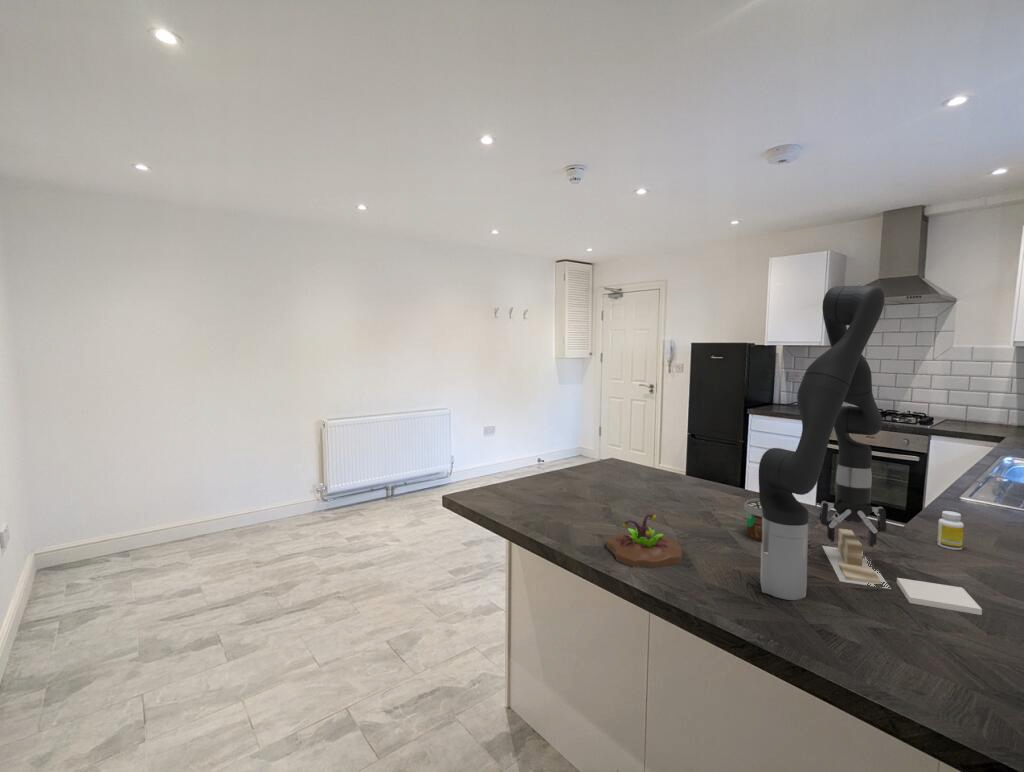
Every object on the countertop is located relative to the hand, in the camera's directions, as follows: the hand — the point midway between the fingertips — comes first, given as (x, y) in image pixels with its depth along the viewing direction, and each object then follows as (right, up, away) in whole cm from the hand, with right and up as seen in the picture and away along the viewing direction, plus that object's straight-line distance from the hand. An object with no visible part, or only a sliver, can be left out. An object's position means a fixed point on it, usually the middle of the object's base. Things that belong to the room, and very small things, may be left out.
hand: (850, 543), depth 128 cm
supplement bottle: (+34, -4, +9) cm, 36 cm away
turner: (-1, -5, -2) cm, 6 cm away
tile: (+8, -5, -15) cm, 18 cm away
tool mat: (-1, -5, -2) cm, 6 cm away
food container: (-15, -4, +20) cm, 26 cm away
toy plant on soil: (-52, -6, +8) cm, 53 cm away
